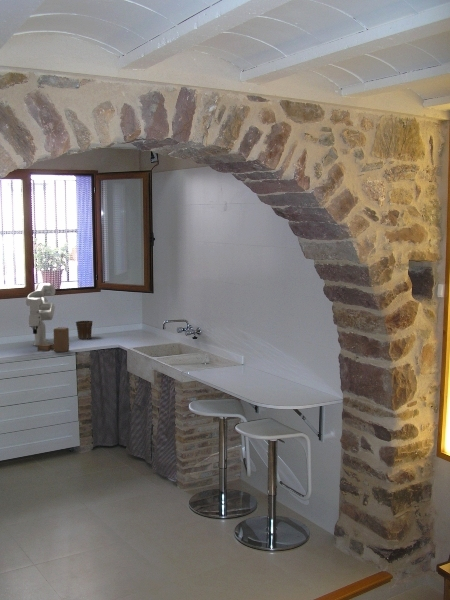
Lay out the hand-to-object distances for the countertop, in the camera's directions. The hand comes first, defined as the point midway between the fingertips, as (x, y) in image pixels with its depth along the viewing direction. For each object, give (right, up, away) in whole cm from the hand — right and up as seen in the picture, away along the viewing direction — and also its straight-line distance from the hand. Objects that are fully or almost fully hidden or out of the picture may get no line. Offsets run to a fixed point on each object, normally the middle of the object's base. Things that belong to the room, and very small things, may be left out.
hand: (35, 333), depth 586 cm
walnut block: (+10, -14, -2) cm, 17 cm away
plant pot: (+31, -8, +56) cm, 65 cm away
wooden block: (+25, -15, -7) cm, 30 cm away
